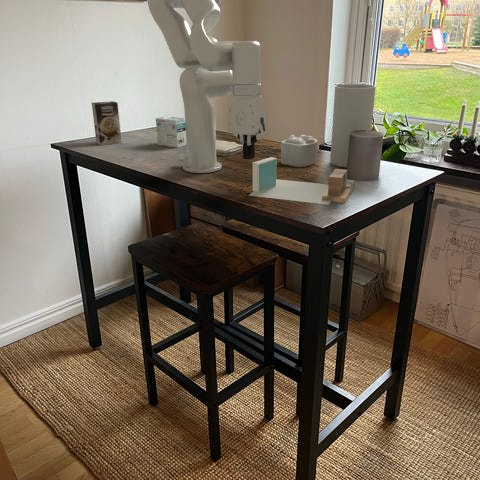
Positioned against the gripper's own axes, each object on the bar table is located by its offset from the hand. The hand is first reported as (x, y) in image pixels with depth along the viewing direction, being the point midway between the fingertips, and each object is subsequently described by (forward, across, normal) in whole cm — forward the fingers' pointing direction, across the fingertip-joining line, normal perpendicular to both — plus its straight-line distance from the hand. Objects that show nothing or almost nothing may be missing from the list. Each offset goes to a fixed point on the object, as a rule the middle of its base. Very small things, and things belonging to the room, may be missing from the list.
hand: (248, 158), depth 135 cm
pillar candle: (+9, +21, +28) cm, 36 cm away
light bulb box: (+7, -60, +22) cm, 64 cm away
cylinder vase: (+9, +9, +41) cm, 43 cm away
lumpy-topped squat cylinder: (+8, -6, +33) cm, 35 cm away
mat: (+9, +14, +4) cm, 17 cm away
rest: (+9, +24, +9) cm, 27 cm away
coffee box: (+6, -84, +8) cm, 84 cm away
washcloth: (+8, -39, +27) cm, 48 cm away
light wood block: (+7, +23, +10) cm, 27 cm away
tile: (+8, +5, 0) cm, 10 cm away
